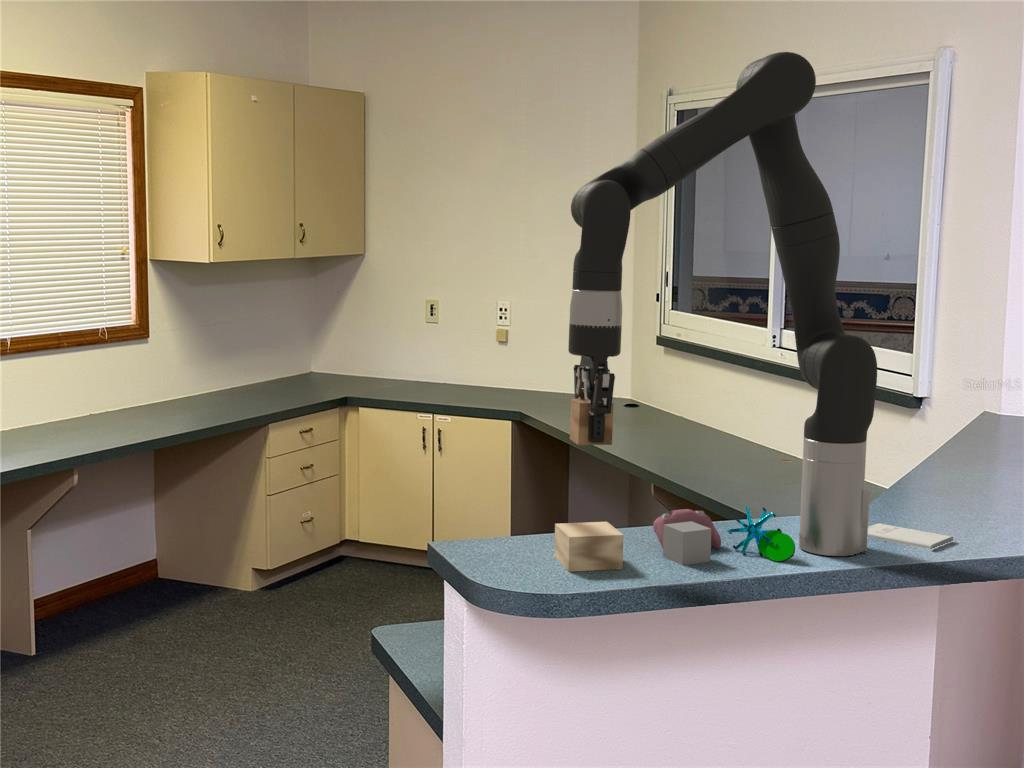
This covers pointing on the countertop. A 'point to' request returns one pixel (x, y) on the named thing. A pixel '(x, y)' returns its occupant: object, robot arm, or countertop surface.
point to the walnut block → (587, 423)
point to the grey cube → (687, 543)
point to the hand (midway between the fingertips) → (590, 438)
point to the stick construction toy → (765, 539)
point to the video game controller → (686, 516)
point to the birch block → (588, 546)
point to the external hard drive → (907, 536)
